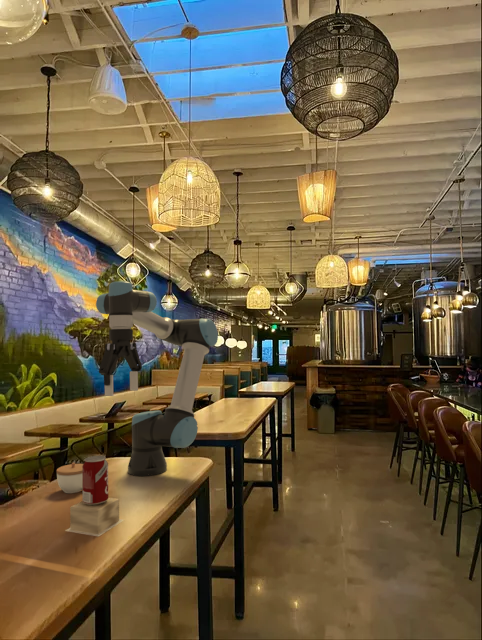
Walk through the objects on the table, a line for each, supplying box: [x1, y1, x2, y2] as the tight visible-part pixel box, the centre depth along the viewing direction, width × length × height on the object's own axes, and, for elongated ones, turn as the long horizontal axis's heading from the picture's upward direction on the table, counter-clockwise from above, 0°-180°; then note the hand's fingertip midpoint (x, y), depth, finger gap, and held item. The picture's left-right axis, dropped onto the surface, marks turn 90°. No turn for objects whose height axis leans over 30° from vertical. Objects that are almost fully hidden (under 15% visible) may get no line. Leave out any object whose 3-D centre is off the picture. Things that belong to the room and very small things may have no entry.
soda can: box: [82, 455, 109, 506], centre depth 122 cm, size 7×7×12 cm
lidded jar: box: [56, 462, 84, 494], centre depth 154 cm, size 11×11×9 cm
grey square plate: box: [64, 518, 125, 537], centre depth 122 cm, size 14×14×1 cm
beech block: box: [69, 497, 120, 534], centre depth 121 cm, size 9×9×6 cm
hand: (122, 393), depth 145 cm, fingers open, 13 cm apart
